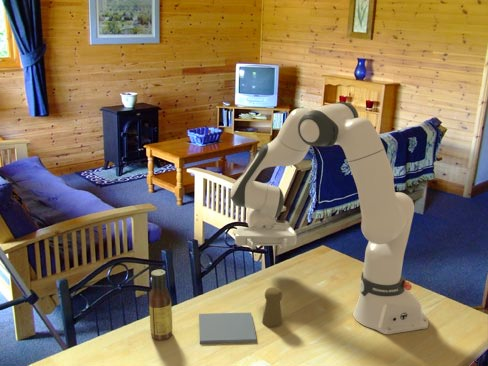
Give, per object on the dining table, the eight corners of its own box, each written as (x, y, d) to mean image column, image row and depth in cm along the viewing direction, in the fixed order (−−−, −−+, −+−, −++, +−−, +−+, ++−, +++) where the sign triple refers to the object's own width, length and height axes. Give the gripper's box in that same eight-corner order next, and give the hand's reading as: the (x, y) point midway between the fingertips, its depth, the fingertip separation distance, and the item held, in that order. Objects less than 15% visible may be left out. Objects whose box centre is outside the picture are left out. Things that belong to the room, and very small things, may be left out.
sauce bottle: (176, 333, 154) (176, 271, 148) (162, 343, 149) (161, 280, 143) (159, 326, 157) (158, 265, 151) (145, 336, 152) (143, 273, 146)
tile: (250, 315, 164) (251, 312, 164) (256, 342, 151) (256, 339, 151) (198, 316, 163) (199, 313, 163) (199, 343, 150) (199, 340, 149)
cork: (280, 328, 158) (282, 296, 155) (260, 326, 159) (262, 293, 156) (283, 318, 164) (285, 286, 160) (263, 315, 165) (265, 283, 161)
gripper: (232, 221, 179) (236, 238, 166) (292, 221, 181) (300, 237, 168) (232, 238, 181) (235, 256, 168) (291, 238, 183) (299, 255, 170)
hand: (268, 247), depth 168 cm, fingers open, 8 cm apart
